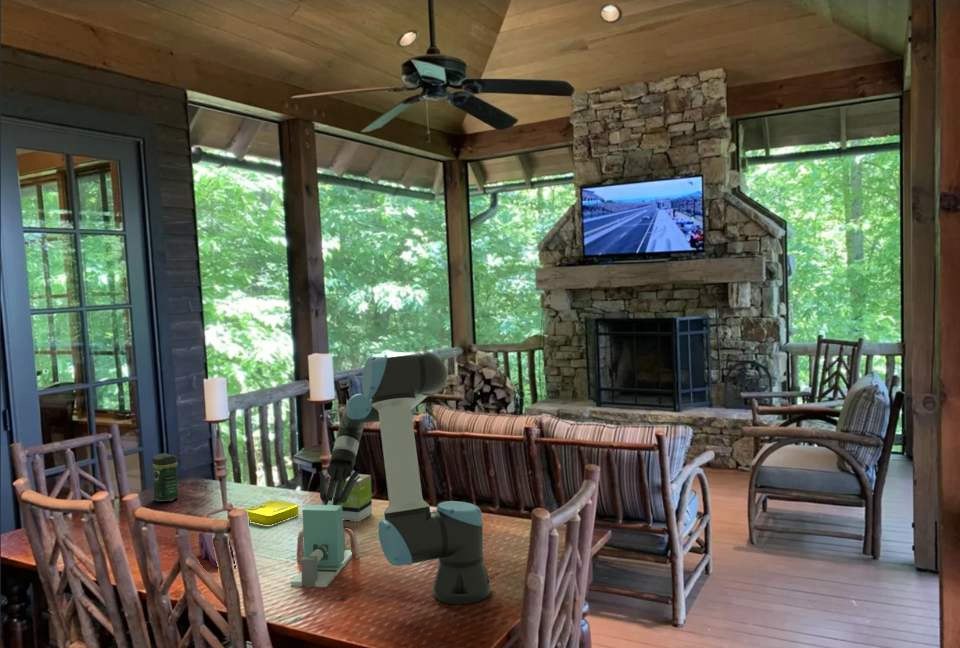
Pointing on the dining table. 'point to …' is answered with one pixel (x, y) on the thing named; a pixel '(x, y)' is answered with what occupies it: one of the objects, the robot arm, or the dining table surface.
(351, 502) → the tea box
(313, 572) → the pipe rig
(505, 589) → the dining table surface
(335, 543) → the sleeve
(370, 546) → the dining table surface
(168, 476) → the coffee jar
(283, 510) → the element tile
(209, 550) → the mounting bracket
